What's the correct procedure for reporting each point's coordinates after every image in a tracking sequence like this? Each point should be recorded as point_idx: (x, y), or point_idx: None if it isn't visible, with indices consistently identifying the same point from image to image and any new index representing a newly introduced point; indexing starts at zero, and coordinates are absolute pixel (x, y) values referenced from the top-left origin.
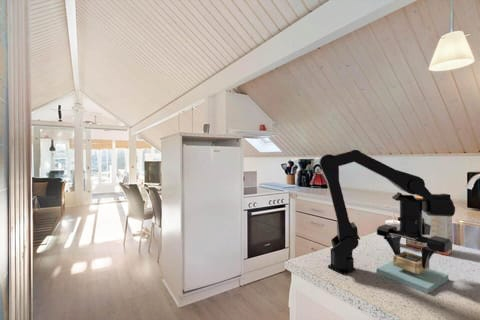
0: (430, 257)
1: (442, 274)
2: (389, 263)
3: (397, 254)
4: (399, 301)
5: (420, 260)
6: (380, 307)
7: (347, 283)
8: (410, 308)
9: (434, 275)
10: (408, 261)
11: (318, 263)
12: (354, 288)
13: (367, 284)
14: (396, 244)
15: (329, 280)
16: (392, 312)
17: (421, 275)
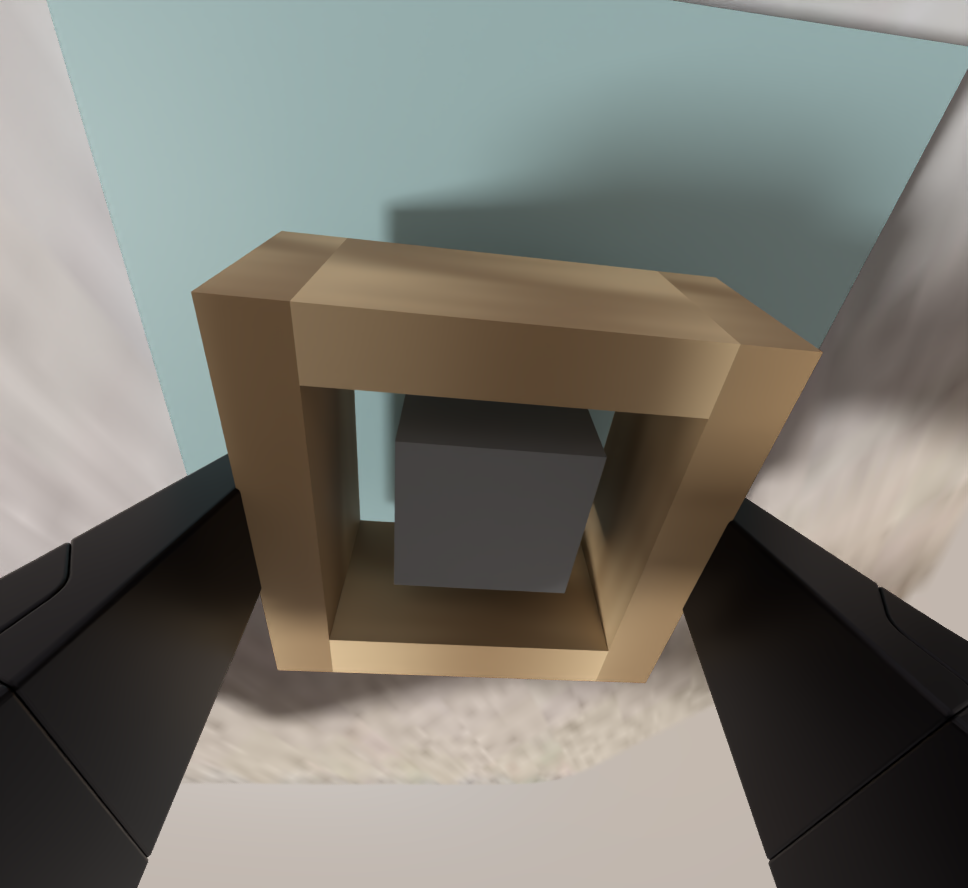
0: (890, 608)
1: (872, 130)
2: (175, 373)
3: (261, 582)
4: (543, 717)
5: (654, 561)
6: (497, 780)
7: (264, 747)
8: (601, 727)
9: (747, 286)
10: (509, 671)
11: None
12: (325, 756)
13: (334, 700)
14: (104, 804)
15: (190, 775)
16: (547, 776)
17: (605, 420)
